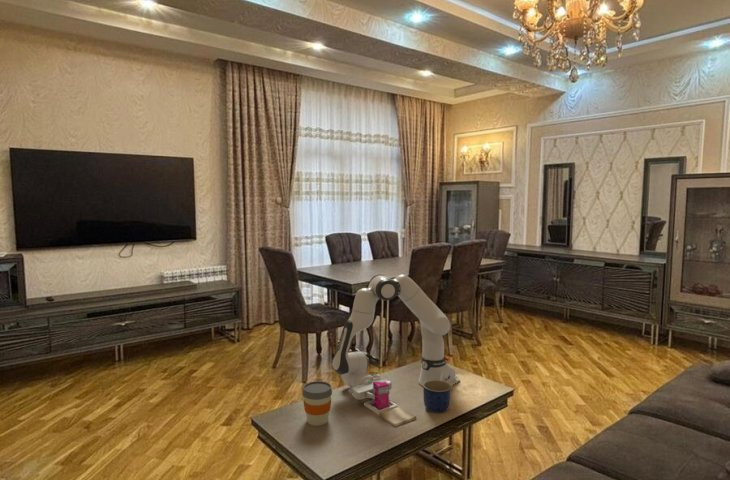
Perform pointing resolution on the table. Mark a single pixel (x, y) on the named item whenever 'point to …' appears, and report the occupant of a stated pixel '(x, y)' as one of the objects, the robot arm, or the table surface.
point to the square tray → (393, 406)
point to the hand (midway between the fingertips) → (382, 394)
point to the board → (397, 416)
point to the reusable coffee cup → (317, 402)
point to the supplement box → (381, 394)
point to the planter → (436, 395)
